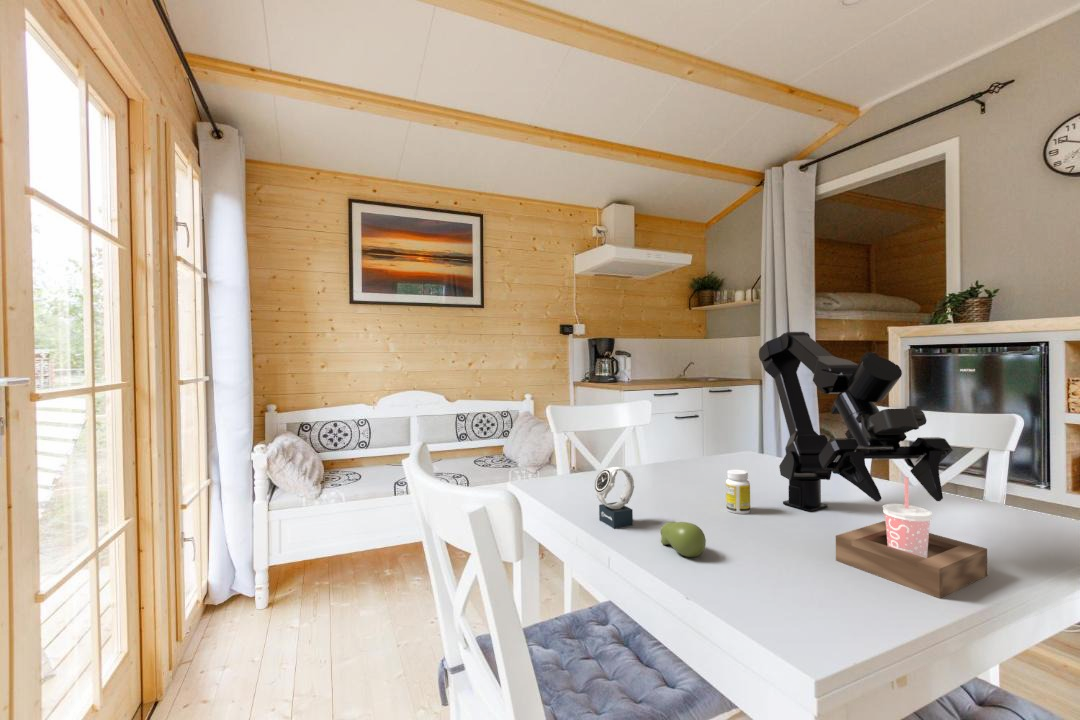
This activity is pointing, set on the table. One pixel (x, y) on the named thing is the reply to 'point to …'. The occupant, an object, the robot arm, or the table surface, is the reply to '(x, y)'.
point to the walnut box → (913, 560)
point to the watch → (616, 511)
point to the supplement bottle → (738, 492)
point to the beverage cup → (907, 526)
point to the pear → (684, 538)
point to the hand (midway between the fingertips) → (909, 500)
